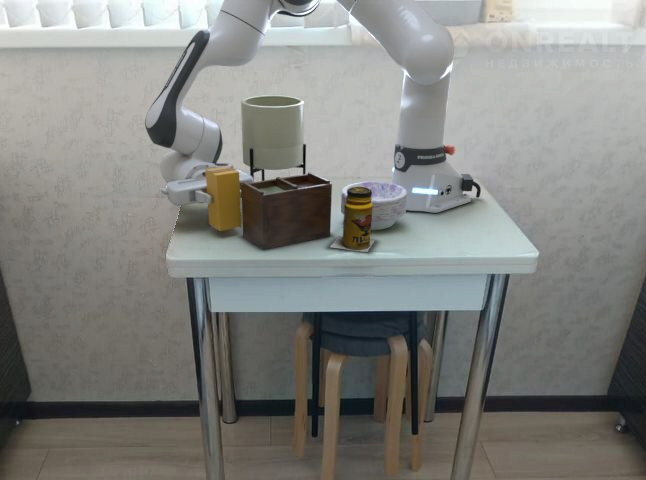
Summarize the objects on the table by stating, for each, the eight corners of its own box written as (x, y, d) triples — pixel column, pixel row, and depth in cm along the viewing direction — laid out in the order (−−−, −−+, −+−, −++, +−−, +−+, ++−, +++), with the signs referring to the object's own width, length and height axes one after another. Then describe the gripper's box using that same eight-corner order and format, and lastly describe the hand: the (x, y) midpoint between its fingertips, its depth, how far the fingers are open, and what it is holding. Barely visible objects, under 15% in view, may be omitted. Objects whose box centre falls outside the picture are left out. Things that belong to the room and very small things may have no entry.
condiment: (367, 252, 150) (371, 195, 143) (329, 248, 152) (331, 191, 145) (374, 241, 156) (378, 186, 149) (338, 237, 158) (340, 182, 151)
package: (230, 220, 162) (227, 165, 155) (241, 227, 158) (239, 171, 151) (209, 224, 159) (205, 169, 152) (219, 231, 156) (216, 175, 148)
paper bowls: (333, 231, 161) (335, 196, 156) (347, 211, 173) (349, 178, 168) (399, 238, 158) (402, 202, 153) (408, 217, 170) (411, 183, 165)
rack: (307, 223, 165) (308, 171, 158) (330, 236, 159) (332, 181, 152) (242, 236, 158) (240, 181, 151) (263, 249, 151) (262, 193, 144)
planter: (300, 209, 174) (301, 108, 160) (238, 205, 176) (234, 105, 162) (309, 191, 186) (311, 96, 172) (251, 188, 188) (248, 93, 174)
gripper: (156, 174, 157) (181, 189, 148) (236, 162, 166) (264, 176, 157) (159, 202, 161) (183, 219, 152) (237, 189, 170) (265, 204, 160)
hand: (225, 197), depth 154 cm, fingers closed on package, 5 cm apart
